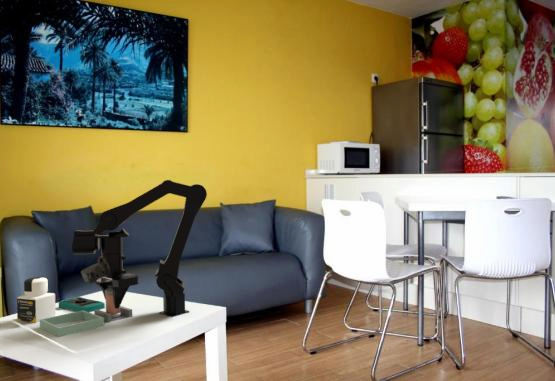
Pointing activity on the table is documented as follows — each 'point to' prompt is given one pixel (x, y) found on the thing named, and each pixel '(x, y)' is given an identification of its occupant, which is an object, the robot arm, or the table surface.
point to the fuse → (111, 305)
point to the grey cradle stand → (108, 318)
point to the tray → (91, 323)
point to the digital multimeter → (81, 304)
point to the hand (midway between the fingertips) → (113, 307)
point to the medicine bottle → (35, 301)
